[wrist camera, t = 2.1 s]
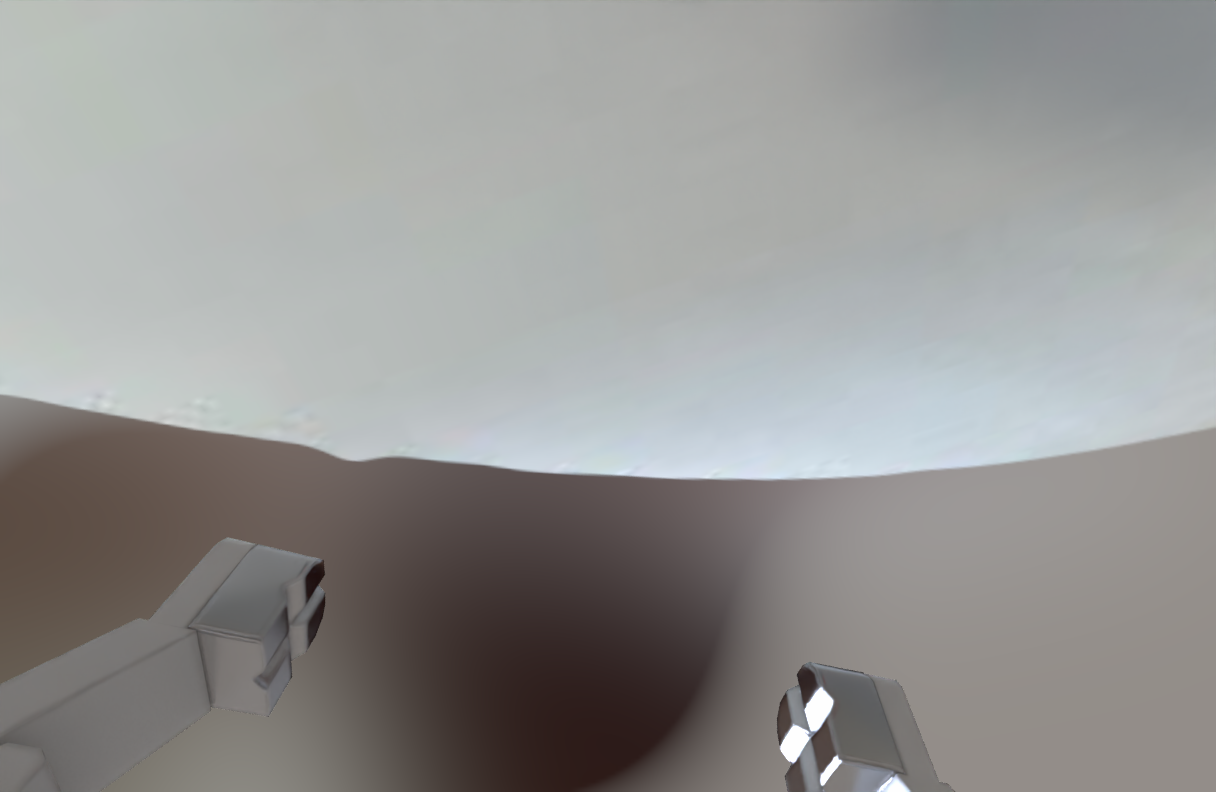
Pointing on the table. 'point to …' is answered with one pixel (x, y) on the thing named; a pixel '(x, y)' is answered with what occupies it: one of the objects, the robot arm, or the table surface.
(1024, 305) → the table surface
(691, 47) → the table surface
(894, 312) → the table surface
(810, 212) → the table surface
